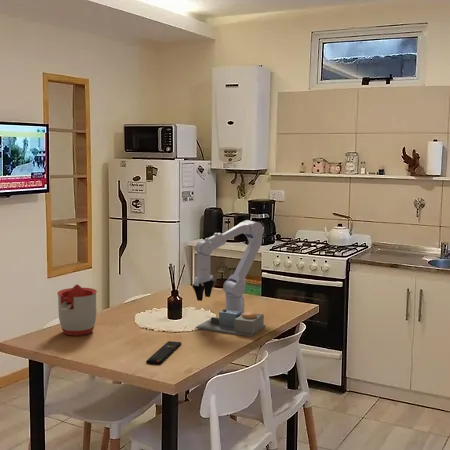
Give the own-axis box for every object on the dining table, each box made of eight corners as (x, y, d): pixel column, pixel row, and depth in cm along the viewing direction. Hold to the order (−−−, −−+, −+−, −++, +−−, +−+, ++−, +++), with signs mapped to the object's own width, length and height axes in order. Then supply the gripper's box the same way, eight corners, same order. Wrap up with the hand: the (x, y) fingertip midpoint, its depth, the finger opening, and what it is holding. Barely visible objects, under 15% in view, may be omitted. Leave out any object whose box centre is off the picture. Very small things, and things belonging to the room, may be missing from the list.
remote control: (181, 345, 241) (181, 342, 241) (159, 366, 218) (159, 362, 218) (168, 344, 242) (168, 341, 242) (145, 365, 219) (145, 361, 219)
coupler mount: (212, 319, 276) (212, 303, 275) (265, 326, 265) (265, 310, 264) (195, 328, 261) (195, 312, 261) (250, 336, 251) (250, 320, 250)
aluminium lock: (223, 323, 267) (223, 308, 266) (240, 325, 264) (240, 310, 263) (218, 325, 263) (219, 310, 262) (236, 328, 260) (236, 312, 259)
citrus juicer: (47, 336, 249) (46, 287, 247) (72, 325, 265) (71, 279, 263) (81, 341, 244) (80, 291, 241) (104, 329, 260) (103, 282, 258)
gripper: (203, 264, 281) (203, 294, 283) (187, 270, 268) (187, 301, 270) (217, 266, 278) (217, 295, 280) (202, 271, 265) (202, 303, 267)
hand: (203, 298), depth 274 cm, fingers open, 7 cm apart
